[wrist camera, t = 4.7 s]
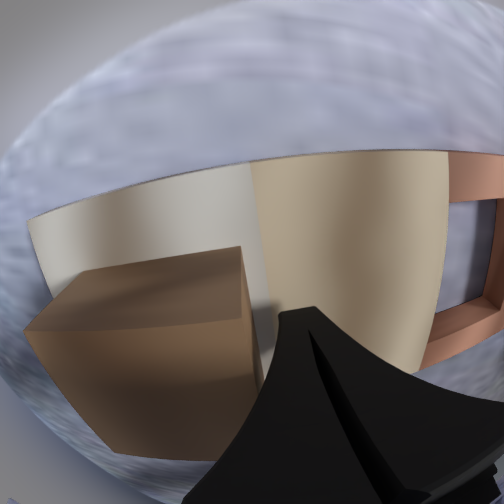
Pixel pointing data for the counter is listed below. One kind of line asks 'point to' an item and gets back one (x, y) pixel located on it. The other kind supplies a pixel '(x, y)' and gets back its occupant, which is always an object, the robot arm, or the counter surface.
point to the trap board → (307, 241)
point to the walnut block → (156, 353)
